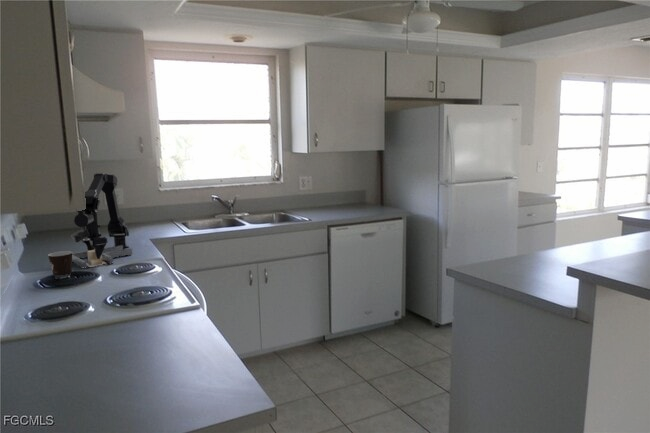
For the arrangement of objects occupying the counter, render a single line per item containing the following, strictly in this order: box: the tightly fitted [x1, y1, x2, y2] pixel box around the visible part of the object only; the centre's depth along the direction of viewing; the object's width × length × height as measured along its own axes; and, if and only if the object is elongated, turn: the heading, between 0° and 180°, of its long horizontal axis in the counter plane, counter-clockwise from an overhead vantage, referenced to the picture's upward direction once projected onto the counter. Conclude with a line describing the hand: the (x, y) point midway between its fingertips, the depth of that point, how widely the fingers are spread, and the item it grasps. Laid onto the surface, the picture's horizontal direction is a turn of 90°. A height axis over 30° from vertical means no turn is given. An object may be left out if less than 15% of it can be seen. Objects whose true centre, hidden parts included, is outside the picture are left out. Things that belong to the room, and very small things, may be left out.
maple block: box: [86, 250, 103, 265], centre depth 212 cm, size 4×4×6 cm
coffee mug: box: [47, 250, 73, 275], centre depth 192 cm, size 12×9×10 cm
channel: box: [72, 245, 133, 268], centre depth 222 cm, size 22×25×3 cm
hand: (94, 257), depth 212 cm, fingers open, 9 cm apart
